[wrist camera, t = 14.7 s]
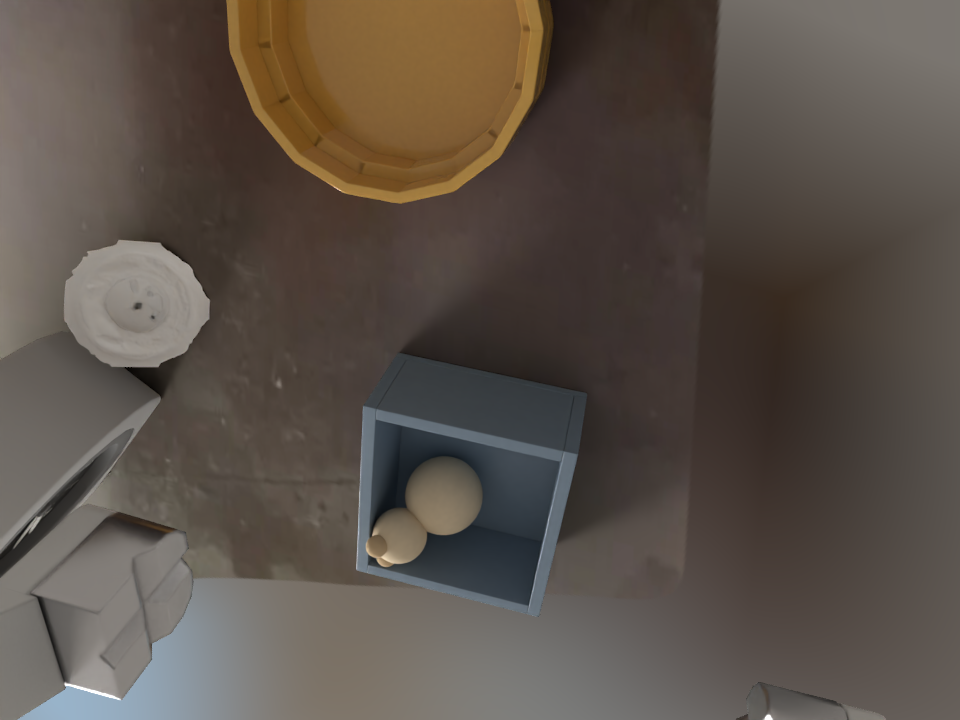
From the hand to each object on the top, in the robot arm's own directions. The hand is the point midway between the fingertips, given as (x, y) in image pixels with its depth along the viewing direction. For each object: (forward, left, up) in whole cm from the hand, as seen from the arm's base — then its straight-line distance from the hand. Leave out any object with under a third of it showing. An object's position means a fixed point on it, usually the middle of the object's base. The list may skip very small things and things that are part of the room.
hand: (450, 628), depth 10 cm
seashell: (+27, +14, -32) cm, 44 cm away
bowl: (+11, -4, -32) cm, 34 cm away
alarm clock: (+35, +27, -32) cm, 55 cm away
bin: (+4, +22, -32) cm, 39 cm away
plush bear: (+4, +23, -31) cm, 38 cm away
